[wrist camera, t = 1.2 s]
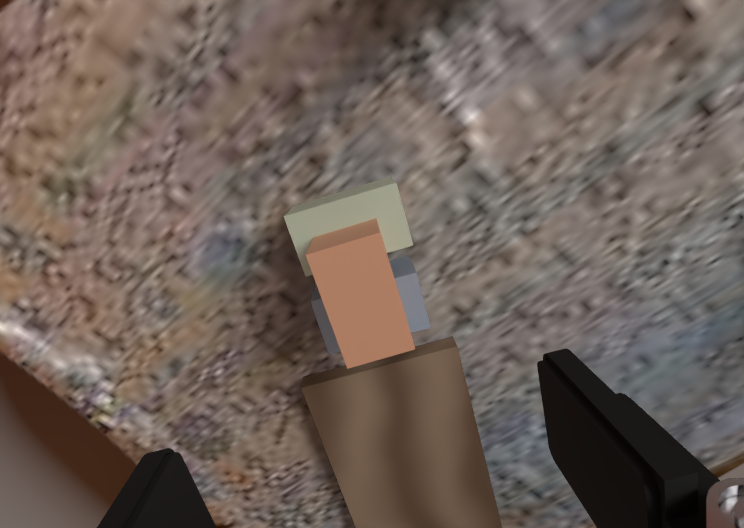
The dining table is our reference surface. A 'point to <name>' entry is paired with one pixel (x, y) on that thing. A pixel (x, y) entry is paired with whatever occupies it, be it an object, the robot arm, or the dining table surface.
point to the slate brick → (409, 297)
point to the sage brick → (350, 216)
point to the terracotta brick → (360, 293)
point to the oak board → (404, 440)
